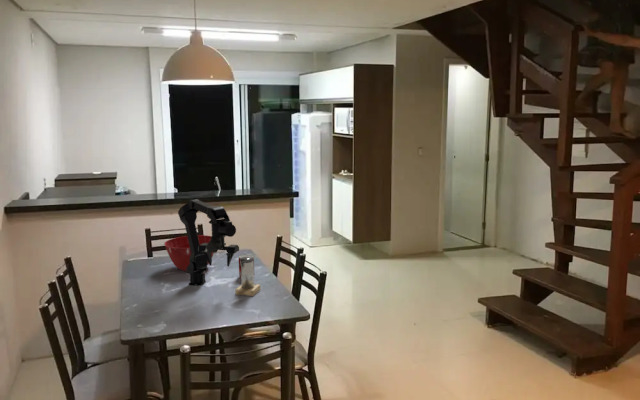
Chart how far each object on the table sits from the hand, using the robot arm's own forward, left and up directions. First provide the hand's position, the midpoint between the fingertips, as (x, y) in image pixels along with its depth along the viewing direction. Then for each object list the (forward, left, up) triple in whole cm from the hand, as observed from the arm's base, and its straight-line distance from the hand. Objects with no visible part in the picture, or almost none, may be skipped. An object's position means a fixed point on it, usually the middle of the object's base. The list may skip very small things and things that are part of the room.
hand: (219, 265), depth 246 cm
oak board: (+13, +3, -13) cm, 19 cm away
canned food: (+3, +25, -13) cm, 28 cm away
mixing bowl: (-33, +33, -13) cm, 49 cm away
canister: (+13, +3, -10) cm, 17 cm away
